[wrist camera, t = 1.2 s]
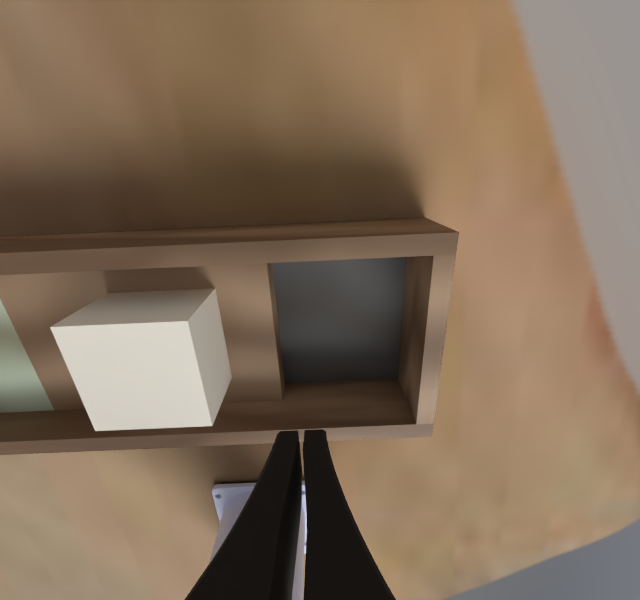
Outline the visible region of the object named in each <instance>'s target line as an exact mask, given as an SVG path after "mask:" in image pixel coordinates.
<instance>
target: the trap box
mask: <svg viewBox="0 0 640 600" xmlns="http://www.w3.org/2000/svg"><path fill="white" fill-rule="evenodd" d="M458 235H459V232H457V231H455V230H452V229H450V228H448V227H446V226H443V225H441V224H439V223H436V222H434V221H432V220H430V219H427V218H406V219H384V220H363V221H341V222H319V223H297V224H275V225H254V226H232V227H210V228H188V229H166V230H145V231H123V232H101V233H79V234H57V235H36V236H14V237H0V455H10V454H34V453H57V452H81V451H104V450H127V449H151V448H174V447H198V446H221V445H244V444H268V443H274V442H275V439H276V436H277V434H278V433H279V432H280V431H295V430H298V433H299V442H304V431H305V430H318V429H323V430H324V431H326V436H327V441H338V440H361V439H385V438H408V437H432V432H433V424H434V416H435V409H436V401H437V394H438V386H439V379H440V371H441V364H442V356H443V349H444V341H445V333H446V326H447V318H448V311H449V303H450V296H451V288H452V281H453V273H454V265H455V258H456V250H457V243H458ZM210 288H215V289H216V295H217V300H218V305H219V311H220V316H221V321H222V327H223V332H224V337H225V343H226V348H227V353H228V359H229V364H230V369H231V375H232V379H231V381H230V384H229V386H228V389H227V391H226V394H225V396H224V399H223V401H222V403H221V406H220V408H219V411H218V413H217V416H216V418H215V421H214V423H213V426H203V427H180V428H156V429H133V430H110V431H95V429H94V427H93V425H92V423H91V420H90V418H89V416H88V413H87V411H86V409H85V407H84V404H83V402H82V400H81V397H80V395H79V393H78V390H77V388H76V386H75V384H74V381H73V379H72V377H71V374H70V372H69V370H68V367H67V365H66V363H65V361H64V358H63V356H62V354H61V351H60V349H59V347H58V344H57V342H56V340H55V338H54V335H53V333H52V331H51V328H50V327H51V326H53V325H54V324H56V323H58V322H59V321H61V320H63V319H64V318H66V317H68V316H70V315H71V314H73V313H75V312H76V311H78V310H80V309H81V308H83V307H85V306H86V305H88V304H90V303H91V302H93V301H95V300H97V299H98V298H100V297H102V296H103V295H105V294H107V293H121V292H143V291H166V290H188V289H210Z"/></svg>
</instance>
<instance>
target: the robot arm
mask: <svg viewBox="0 0 640 600" xmlns="http://www.w3.org/2000/svg"><path fill="white" fill-rule="evenodd" d="M303 460H304V478H305V481H302V465H301V455H300V444H299V433H298V430H295V431H280V432H279V433H278V434H277V436H276V439H275V442H274V444H273V447H272V450H271V452H270V454H269V457H268V459H267V461H266V464H265V466H264V468H263V470H262V472H261V474H260V476H259V478H258V480H257V482H256V483H234V484H216V485H214V486H213V488H212V495H213V499H214V503H215V507H216V510H217V514H218V518H219V522H220V525H219V529H218V532H217V536H216V540H215V543H214V547H213V551H212V554H211V558H210V562H209V565H208V567H207V568H206V570H205V571H204V572H203V574H202V575H201V577H200V578H199V580H198V581H197V583H196V584H195V586H194V587H193V588H192V590H191V591H190V593H189V594H188V596H187V597H186V598H185V600H303V580H304V554H306V563H305V586H304V600H396V599H395V597H394V596H393V594H392V592H391V591H390V589H389V587H388V585H387V584H386V582H385V580H384V578H383V576H382V574H381V573H380V571H379V569H378V567H377V565H376V563H375V561H374V559H373V557H372V555H371V553H370V551H369V549H368V547H367V545H366V543H365V541H364V539H363V537H362V535H361V533H360V531H359V529H358V527H357V524H356V522H355V520H354V518H353V515H352V513H351V511H350V508H349V506H348V504H347V501H346V499H345V496H344V494H343V491H342V488H341V486H340V483H339V480H338V478H337V475H336V472H335V469H334V466H333V462H332V459H331V455H330V451H329V447H328V442H327V436H326V431H324V430H323V429H318V430H305V431H304V442H303Z"/></svg>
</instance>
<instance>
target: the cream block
mask: <svg viewBox="0 0 640 600" xmlns="http://www.w3.org/2000/svg"><path fill="white" fill-rule="evenodd" d="M50 328H51V331H52V333H53V335H54V338H55V340H56V342H57V344H58V347H59V349H60V351H61V354H62V356H63V358H64V361H65V363H66V365H67V367H68V370H69V372H70V374H71V377H72V379H73V381H74V384H75V386H76V388H77V390H78V393H79V395H80V397H81V400H82V402H83V404H84V407H85V409H86V411H87V413H88V416H89V418H90V420H91V423H92V425H93V427H94V429H95V431H110V430H133V429H156V428H180V427H203V426H213V423H214V421H215V418H216V416H217V413H218V411H219V408H220V406H221V403H222V401H223V399H224V396H225V394H226V391H227V389H228V386H229V384H230V381H231V379H232V375H231V369H230V364H229V359H228V353H227V348H226V343H225V337H224V332H223V327H222V321H221V316H220V311H219V305H218V300H217V295H216V289H215V288H210V289H188V290H166V291H143V292H121V293H107V294H105V295H103V296H102V297H100V298H98V299H97V300H95V301H93V302H91V303H90V304H88V305H86V306H85V307H83V308H81V309H80V310H78V311H76V312H75V313H73V314H71V315H70V316H68V317H66V318H64V319H63V320H61V321H59V322H58V323H56V324H54V325H53V326H51V327H50Z"/></svg>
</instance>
